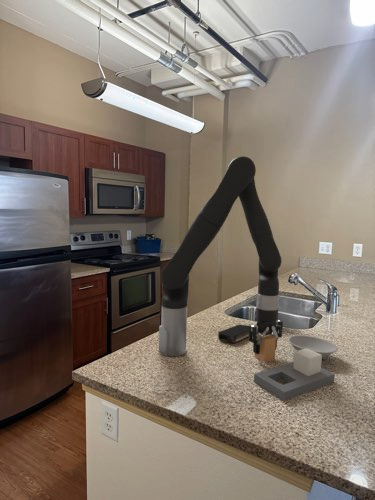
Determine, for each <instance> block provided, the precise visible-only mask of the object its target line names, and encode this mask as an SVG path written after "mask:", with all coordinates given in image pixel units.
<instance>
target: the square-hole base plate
mask: <svg viewBox="0 0 375 500" xmlns="http://www.w3.org/2000/svg"><path fill="white" fill-rule="evenodd" d="M293 355H294V356H293V361H291V362H289V363H286V364H282V365H279V366H276V367H272V368H268V369H266V370H263V371H259V372H256V373H253V374H254V375H253V382H254V383H255V384H257V385H258V386H260V387H262V388H263V389H265V390H266V391H268V392H269V393H271V394H272V395H274V396H275V397H277V398H278V399H280V400H282V401H287V400H290V399H292V398H295V397H297V396H300V395H303V394H306V393H308V392H311V391H313V390H316V389H319V388H321V387H324V386H327V385H329V384H332V383H334V382H335V375H336V374H335V373H333V372H331V371H329V370H327V369H325V368H323V367H322V359H323V357H322V355H321V354H319V353H316V352H314V351H312V350H310V349H307V348H306V349H302V350H299V351H297V350H295V351H294V353H293ZM280 380H281V381H283V382H285V383H284V384H281V383H279V382H278V381H280Z"/></svg>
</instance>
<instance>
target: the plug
mask: <svg viewBox="0 0 375 500" xmlns="http://www.w3.org/2000/svg"><path fill="white" fill-rule="evenodd" d="M259 335H261V334H260V333H259ZM258 338H259V337H258ZM258 338H257V340H258ZM275 349H276V350H277V348H276V337H274V336H272V335H266V336H264V338H263V339H262V340H261V342H260V353H259V354H258V355H257V354H255V353H254V358H256V359H258V360H260V361H261V362H263V363H266V362H270V361H274V360H276V350H275Z"/></svg>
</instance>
